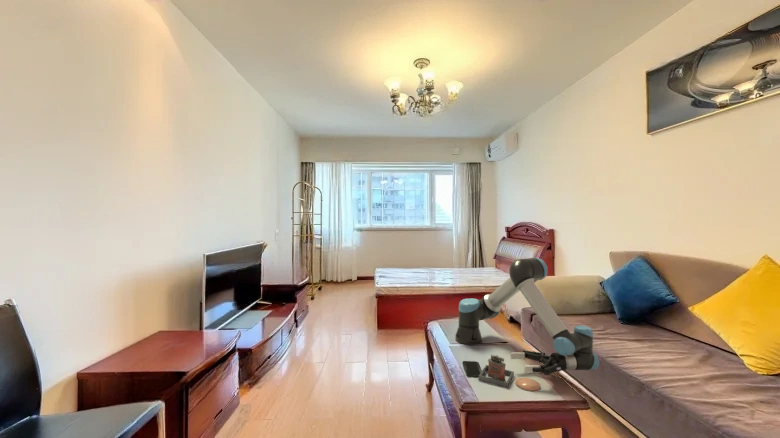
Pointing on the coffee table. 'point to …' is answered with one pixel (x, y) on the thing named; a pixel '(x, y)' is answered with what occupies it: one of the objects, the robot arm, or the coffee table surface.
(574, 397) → the coffee table surface
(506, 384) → the holder frame
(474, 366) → the phone
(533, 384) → the coaster
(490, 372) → the lighter
